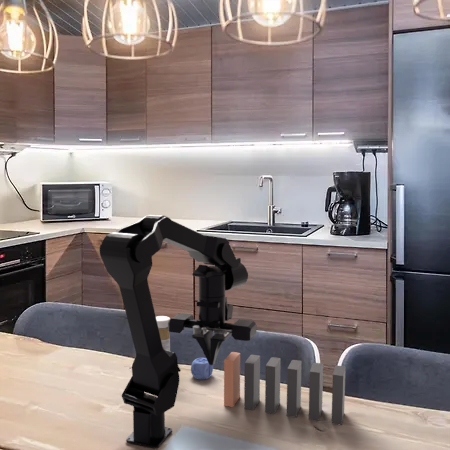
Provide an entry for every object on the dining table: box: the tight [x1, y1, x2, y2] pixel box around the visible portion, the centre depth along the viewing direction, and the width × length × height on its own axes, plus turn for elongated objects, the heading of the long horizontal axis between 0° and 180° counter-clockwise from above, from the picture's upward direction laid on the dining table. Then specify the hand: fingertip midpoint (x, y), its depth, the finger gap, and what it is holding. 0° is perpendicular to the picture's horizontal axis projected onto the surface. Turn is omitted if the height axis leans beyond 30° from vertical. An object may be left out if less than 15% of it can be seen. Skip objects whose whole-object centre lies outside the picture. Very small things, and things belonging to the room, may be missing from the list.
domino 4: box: [286, 359, 302, 418], centre depth 99 cm, size 2×5×10 cm, turn 161°
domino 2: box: [243, 354, 261, 411], centre depth 102 cm, size 2×5×10 cm, turn 161°
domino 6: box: [330, 364, 346, 426], centre depth 96 cm, size 2×5×10 cm, turn 161°
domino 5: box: [308, 362, 324, 422], centre depth 98 cm, size 2×5×10 cm, turn 161°
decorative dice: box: [190, 357, 214, 381], centre depth 117 cm, size 4×4×4 cm
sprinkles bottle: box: [156, 315, 171, 351], centre depth 120 cm, size 5×5×14 cm
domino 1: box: [223, 351, 241, 408], centre depth 103 cm, size 2×5×10 cm, turn 161°
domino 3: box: [264, 356, 281, 415], centre depth 101 cm, size 2×5×10 cm, turn 161°
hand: (211, 364), depth 105 cm, fingers closed
